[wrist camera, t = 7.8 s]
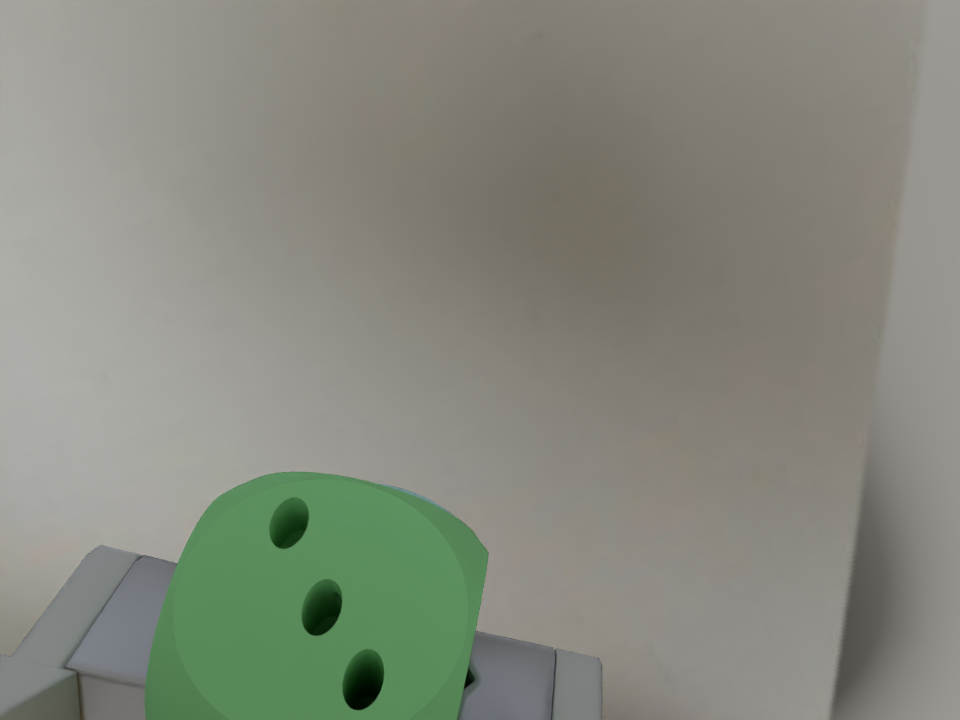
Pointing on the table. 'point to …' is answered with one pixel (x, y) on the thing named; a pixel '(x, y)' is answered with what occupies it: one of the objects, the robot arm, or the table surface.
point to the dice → (318, 606)
